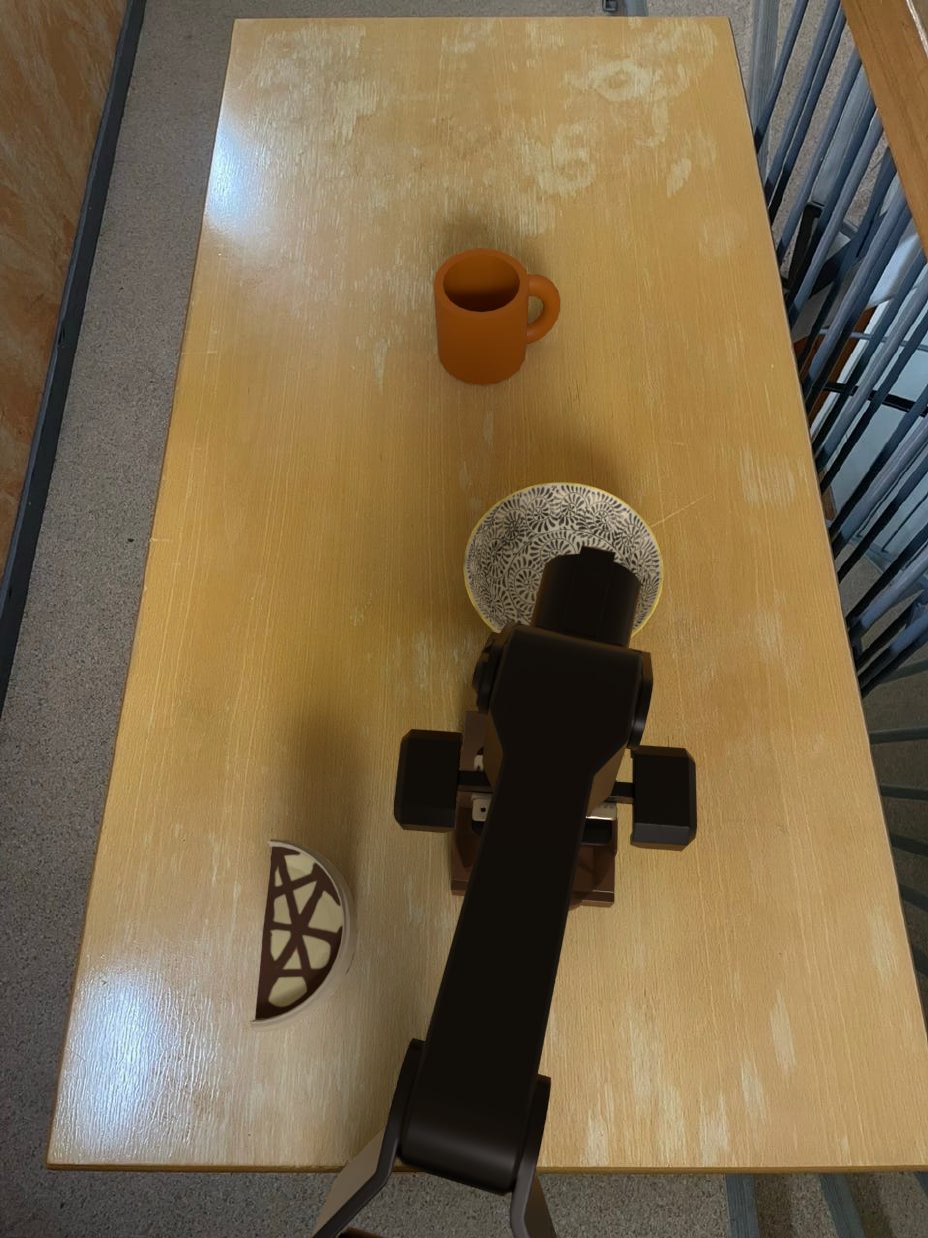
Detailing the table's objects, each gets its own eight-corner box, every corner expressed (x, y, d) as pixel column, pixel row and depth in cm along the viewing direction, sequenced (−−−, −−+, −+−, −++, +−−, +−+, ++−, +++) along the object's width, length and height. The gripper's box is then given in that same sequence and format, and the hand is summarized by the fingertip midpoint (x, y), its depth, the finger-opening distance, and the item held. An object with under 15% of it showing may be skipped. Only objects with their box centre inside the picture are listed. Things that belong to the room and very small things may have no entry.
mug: (560, 384, 90) (567, 318, 82) (438, 387, 90) (433, 321, 82) (555, 314, 94) (562, 244, 86) (438, 317, 94) (433, 247, 86)
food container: (366, 1035, 66) (346, 1034, 57) (281, 1034, 66) (247, 1032, 57) (375, 860, 71) (358, 834, 62) (296, 860, 71) (268, 833, 62)
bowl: (428, 622, 80) (423, 583, 73) (535, 496, 85) (539, 448, 78) (581, 728, 75) (590, 696, 68) (684, 589, 80) (702, 546, 74)
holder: (612, 924, 69) (616, 920, 66) (448, 911, 69) (447, 906, 67) (615, 730, 75) (619, 721, 73) (464, 720, 76) (464, 710, 74)
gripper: (714, 636, 55) (667, 721, 69) (403, 616, 56) (420, 704, 70) (721, 822, 50) (669, 873, 64) (381, 797, 51) (404, 852, 65)
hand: (537, 818), depth 66 cm, fingers closed
